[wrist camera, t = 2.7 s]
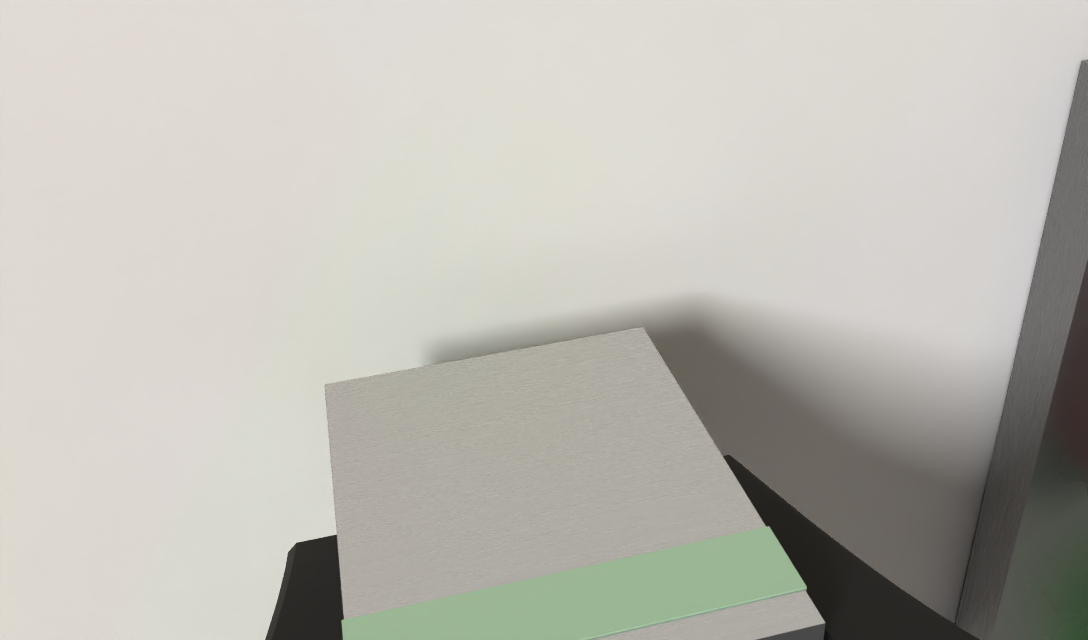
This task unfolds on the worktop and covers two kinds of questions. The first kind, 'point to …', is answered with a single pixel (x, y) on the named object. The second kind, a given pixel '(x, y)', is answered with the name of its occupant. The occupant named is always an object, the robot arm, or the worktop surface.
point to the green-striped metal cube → (548, 505)
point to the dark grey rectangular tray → (1042, 437)
